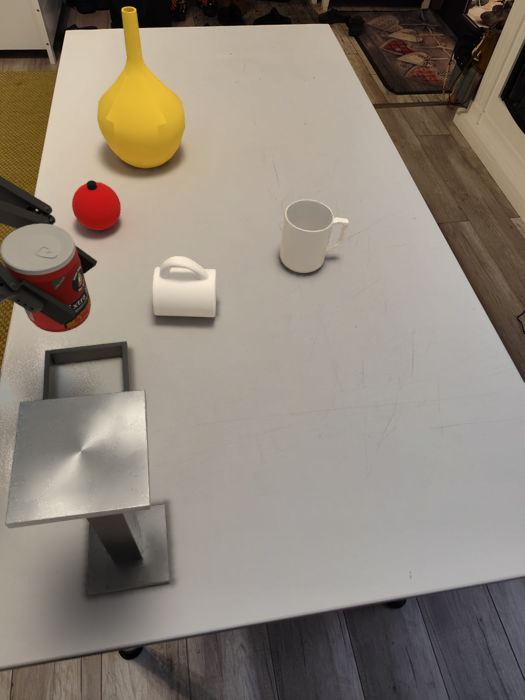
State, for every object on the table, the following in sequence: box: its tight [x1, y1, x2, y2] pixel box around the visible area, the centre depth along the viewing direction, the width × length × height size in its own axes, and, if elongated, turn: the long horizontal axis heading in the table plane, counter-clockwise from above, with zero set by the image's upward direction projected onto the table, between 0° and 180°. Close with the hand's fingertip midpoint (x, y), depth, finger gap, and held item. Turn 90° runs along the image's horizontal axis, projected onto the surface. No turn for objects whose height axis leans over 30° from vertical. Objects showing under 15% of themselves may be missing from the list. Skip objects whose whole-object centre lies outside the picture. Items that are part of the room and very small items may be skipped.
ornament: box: [71, 179, 122, 231], centre depth 100 cm, size 9×9×10 cm
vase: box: [96, 6, 186, 169], centre depth 106 cm, size 18×18×30 cm
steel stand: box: [4, 389, 171, 596], centre depth 56 cm, size 11×11×30 cm
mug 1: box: [151, 255, 218, 318], centre depth 88 cm, size 8×10×12 cm
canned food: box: [0, 224, 92, 333], centre depth 62 cm, size 8×8×11 cm
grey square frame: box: [42, 340, 133, 400], centre depth 81 cm, size 13×13×3 cm
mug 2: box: [279, 198, 350, 274], centre depth 98 cm, size 12×9×11 cm
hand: (80, 292), depth 63 cm, fingers closed on canned food, 8 cm apart
